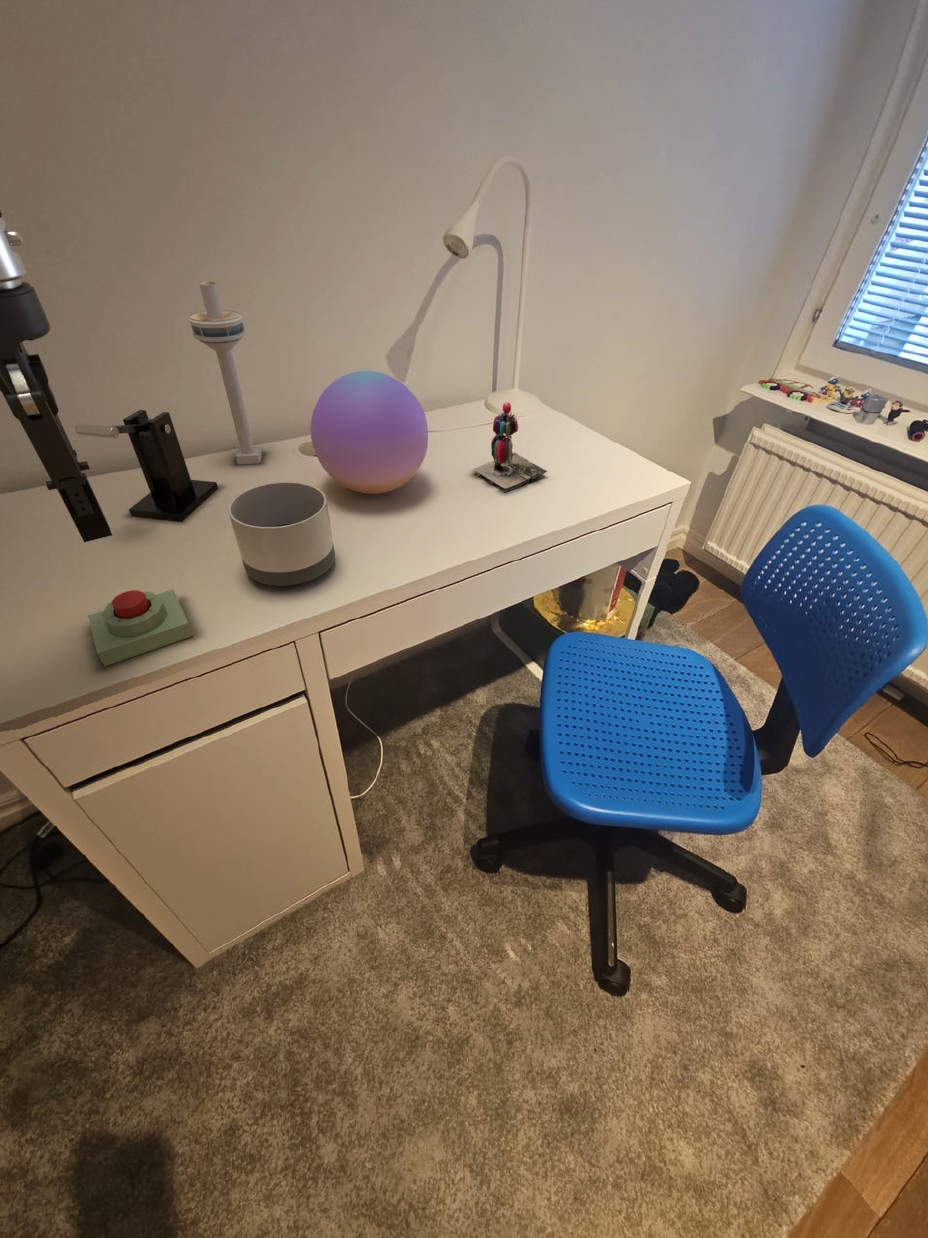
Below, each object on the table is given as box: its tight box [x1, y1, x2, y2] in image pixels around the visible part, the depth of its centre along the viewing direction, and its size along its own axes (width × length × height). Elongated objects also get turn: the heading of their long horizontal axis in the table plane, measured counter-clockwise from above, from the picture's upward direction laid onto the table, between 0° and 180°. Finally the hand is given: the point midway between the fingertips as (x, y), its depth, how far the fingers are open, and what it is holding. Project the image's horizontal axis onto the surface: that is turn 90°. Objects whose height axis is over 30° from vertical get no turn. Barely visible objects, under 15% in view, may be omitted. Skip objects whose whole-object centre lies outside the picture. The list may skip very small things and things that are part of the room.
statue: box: [473, 401, 548, 494], centre depth 100 cm, size 11×9×15 cm
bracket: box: [122, 409, 219, 522], centre depth 88 cm, size 12×9×15 cm
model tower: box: [188, 281, 263, 465], centre depth 97 cm, size 8×8×30 cm
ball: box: [309, 370, 429, 495], centre depth 93 cm, size 20×20×20 cm
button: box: [111, 589, 150, 619], centre depth 65 cm, size 4×4×2 cm
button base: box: [87, 589, 194, 667], centre depth 67 cm, size 10×8×4 cm
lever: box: [74, 417, 152, 439], centre depth 80 cm, size 13×6×2 cm, turn 171°
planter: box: [227, 481, 336, 587], centre depth 76 cm, size 13×13×10 cm
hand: (97, 534), depth 59 cm, fingers closed
